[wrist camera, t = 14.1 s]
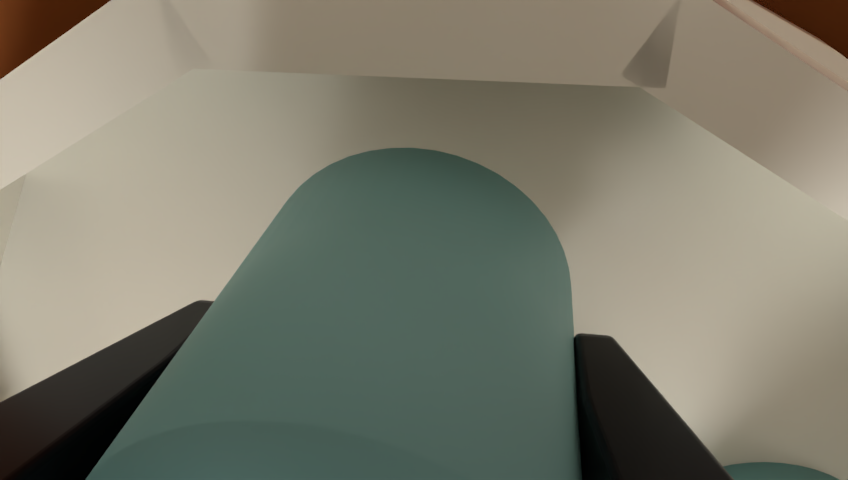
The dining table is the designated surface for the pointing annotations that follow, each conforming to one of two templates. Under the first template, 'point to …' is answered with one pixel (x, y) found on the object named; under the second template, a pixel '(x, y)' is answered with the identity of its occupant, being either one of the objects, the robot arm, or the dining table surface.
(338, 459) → the bead
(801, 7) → the dining table surface
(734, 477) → the bead
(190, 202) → the groove tray
